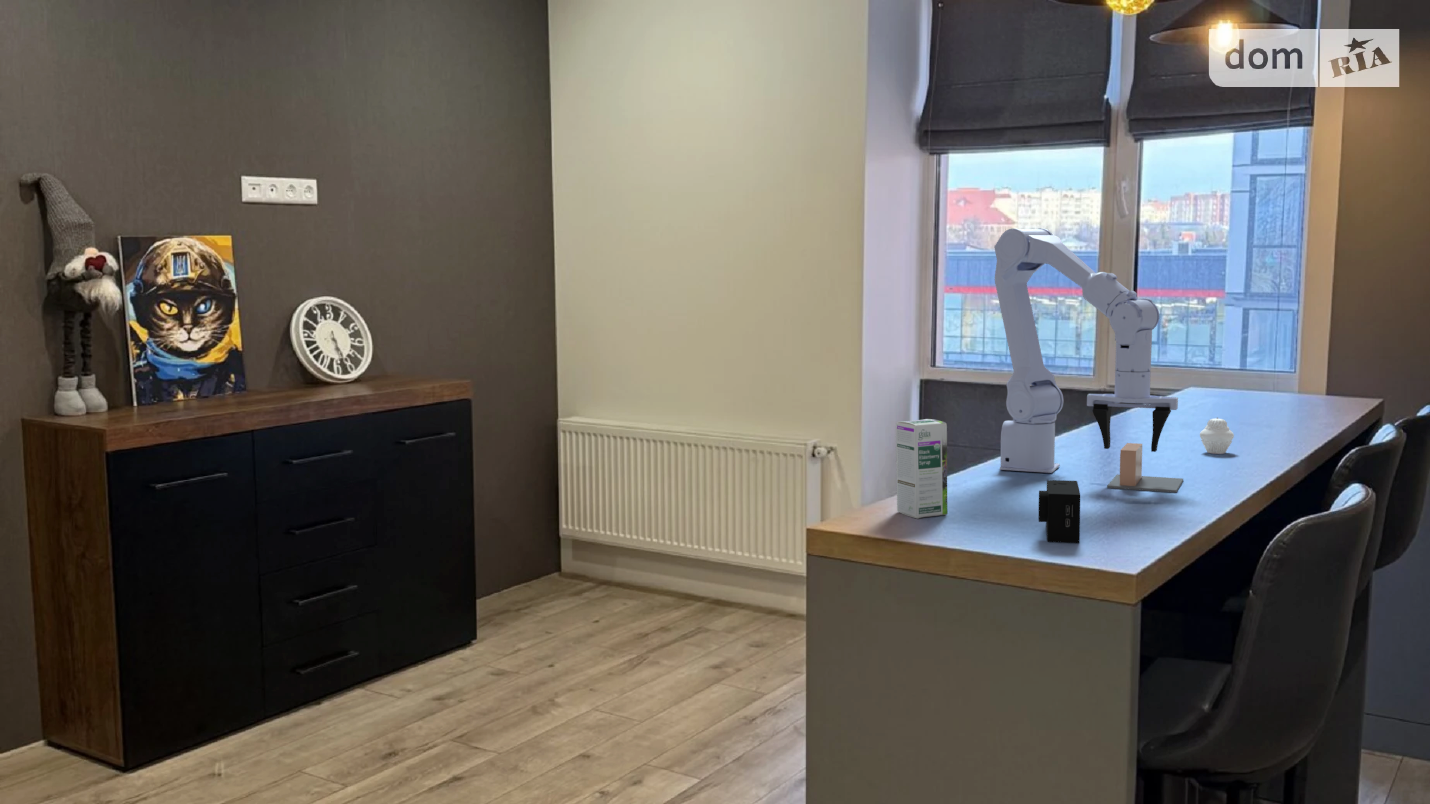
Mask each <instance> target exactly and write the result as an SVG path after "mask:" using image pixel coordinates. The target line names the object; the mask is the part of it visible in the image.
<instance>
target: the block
mask: <svg viewBox="0 0 1430 804" xmlns="http://www.w3.org/2000/svg"><path fill="white" fill-rule="evenodd" d="M1142 464H1143V443H1134V442H1133V443H1131V442H1127V443H1126V444H1124V446H1123V447H1122V448H1121V449H1120V453H1119V475H1120V485H1126V486H1136V484H1137V483H1138V482H1139V481H1140V479H1141V478H1142V476H1143V475H1142V473H1143V469H1142V468H1143V465H1142Z"/></svg>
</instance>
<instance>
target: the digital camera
mask: <svg viewBox="0 0 1430 804" xmlns="http://www.w3.org/2000/svg"><path fill="white" fill-rule="evenodd" d="M1038 522H1039V523H1045V529H1046V541H1047V542H1048V543H1057V544H1059V543H1060V544H1061V543H1064V544H1080V536H1081V534H1080V532H1081V531H1080V529H1081V492H1080V488H1079V483H1078V481H1077V480H1065V479H1064V480H1062V479H1061V480H1060V479H1056V480H1055V479H1047V480H1046V490H1038Z"/></svg>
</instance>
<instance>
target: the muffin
mask: <svg viewBox="0 0 1430 804" xmlns="http://www.w3.org/2000/svg"><path fill="white" fill-rule="evenodd" d="M1199 437H1200V439H1201V443H1202V445H1203V446H1204V449H1205V451H1206V452H1207V454H1212V455H1223V454H1226V452H1227V451H1228V449H1229V448H1230V446H1231V444H1232V442H1233V439H1234V438H1235V434H1234V432H1233V431H1232V430H1230V427H1229V426H1228V422H1227V421H1226V420H1225V419H1223V418H1219V417H1216V418H1210V419H1209V420H1208V421H1207V424H1206V426H1205V427H1204V429H1202V430H1201V431H1200V432H1199Z"/></svg>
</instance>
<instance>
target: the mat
mask: <svg viewBox="0 0 1430 804" xmlns="http://www.w3.org/2000/svg"><path fill="white" fill-rule="evenodd" d="M1183 483H1184V478H1181V477H1180V478H1178V477H1163V476H1148V475H1147V476H1146V475H1142V478H1141V479H1140V481H1139V482H1138V483H1137V484H1136V486H1126V485H1120V474H1119V473H1118V474H1116V475H1115V476H1114V477H1113V478H1112V480H1110V481H1109V483H1108V484H1107V485H1106V488H1107V489H1115V490H1116V489H1117V490H1128V491H1129V490H1131V491H1132V490H1133V491H1146V492H1148V491H1149V492H1161V493H1174V494H1175V493H1178V491H1179V489H1180V487H1181V485H1182V484H1183Z"/></svg>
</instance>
